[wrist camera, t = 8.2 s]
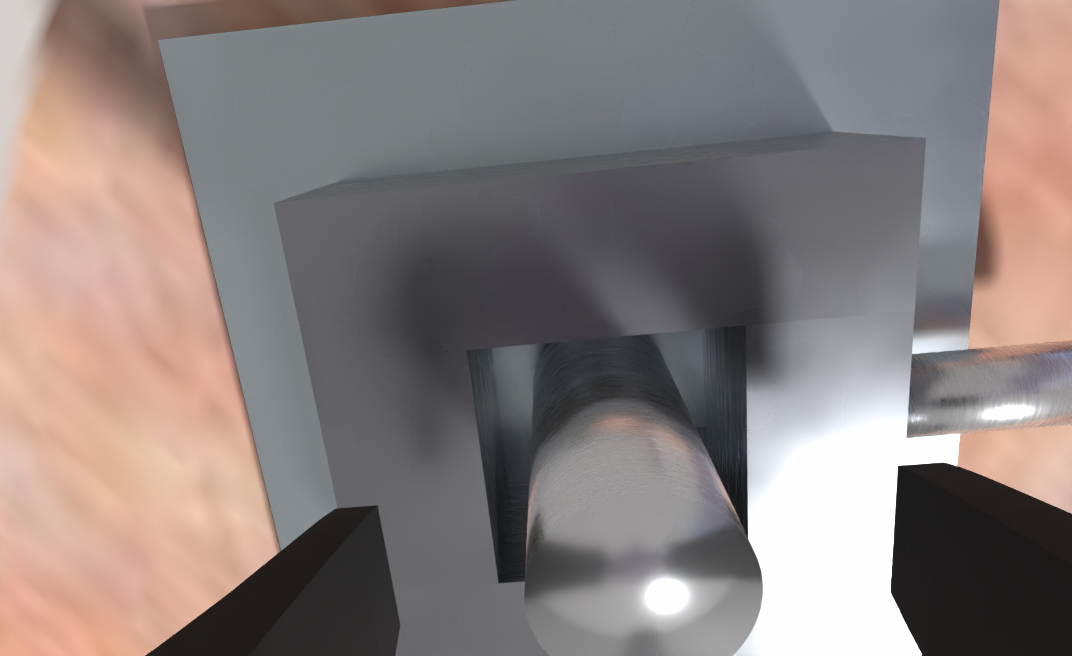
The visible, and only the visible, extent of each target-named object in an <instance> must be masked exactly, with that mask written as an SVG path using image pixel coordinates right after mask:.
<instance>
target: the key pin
mask: <svg viewBox="0 0 1072 656" xmlns="http://www.w3.org/2000/svg"><path fill="white" fill-rule="evenodd" d="M762 598H763V580H762V573H761V568H760V565H759V562H758V558H757V556H756V554H755V552H754V550H753V548H752V546H751V544H750V541H749V539H748V537H747V535H746V533H745V531H744V529H743V526H742V524H741V522H740V520H739V518H738V516H737V514H736V512H735V509H734V507H733V505H732V503H731V501H730V499H729V497H728V495H727V492H726V490H725V488H724V486H723V484H722V482H721V480H720V478H719V475H718V473H717V471H716V469H715V467H714V465H713V463H712V461H711V458H710V456H709V454H708V452H707V450H706V448H705V446H704V444H703V441H702V439H701V437H700V435H699V433H698V431H697V429H696V426H695V424H694V422H693V420H692V418H691V416H690V414H689V412H688V409H687V407H686V405H685V403H684V401H683V399H682V397H681V395H680V392H679V390H678V388H677V386H676V384H675V382H674V380H673V378H672V375H671V373H670V371H669V369H668V367H667V365H666V363H665V361H664V358H663V356H662V354H661V353H660V351H659V350H658V348H657V347H656V345H655V344H654V343H653V342H652V341H651V340H650V339H649V338H648V337H647V336H645V335H633V336H622V337H610V338H599V339H588V340H577V341H565V342H554V343H550V344H549V346H548V347H547V348H546V349H545V351H544V352H543V354H542V356H541V358H540V359H539V361H538V364H537V367H536V370H535V375H534V387H533V410H532V432H531V455H530V477H529V499H528V522H527V544H526V566H525V589H524V601H525V610H526V614H527V618H528V622H529V625H530V627H531V629H532V632H533V634H534V636H535V637H536V639H537V641H538V642H539V644H540V645H541V647H542V648H543V649H544V650H545V651H546V653H547V654H548V655H549V656H733V655H734V654H735V653H736V652H737V651H738V649H739V648H740V647H741V646H742V645H743V643H744V642H745V641H746V639H747V638H748V636H749V635H750V633H751V631H752V629H753V627H754V625H755V624H756V621H757V618H758V615H759V612H760V609H761V603H762Z"/></svg>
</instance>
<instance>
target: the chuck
mask: <svg viewBox="0 0 1072 656" xmlns="http://www.w3.org/2000/svg"><path fill="white" fill-rule="evenodd" d="M998 9H999V0H512V1H503V2H494V3H485V4H476V5H467V6H458V7H449V8H440V9H431V10H422V11H413V12H404V13H395V14H386V15H377V16H368V17H359V18H350V19H341V20H332V21H323V22H314V23H305V24H296V25H287V26H278V27H269V28H260V29H251V30H242V31H233V32H224V33H215V34H206V35H197V36H188V37H179V38H170V39H161V40H158V44H159V48H160V52H161V56H162V60H163V64H164V68H165V73H166V77H167V81H168V85H169V89H170V93H171V97H172V101H173V106H174V110H175V114H176V118H177V122H178V126H179V130H180V135H181V139H182V143H183V147H184V151H185V155H186V159H187V163H188V168H189V172H190V176H191V180H192V184H193V188H194V192H195V196H196V201H197V205H198V209H199V213H200V217H201V221H202V225H203V230H204V234H205V238H206V242H207V246H208V250H209V254H210V258H211V263H212V267H213V271H214V275H215V279H216V283H217V287H218V292H219V296H220V300H221V304H222V308H223V312H224V316H225V320H226V325H227V329H228V333H229V337H230V341H231V345H232V349H233V353H234V358H235V362H236V366H237V370H238V374H239V378H240V382H241V387H242V391H243V395H244V399H245V403H246V407H247V411H248V415H249V420H250V424H251V428H252V432H253V436H254V440H255V444H256V449H257V453H258V457H259V461H260V465H261V469H262V473H263V477H264V482H265V486H266V490H267V494H268V498H269V502H270V506H271V510H272V515H273V519H274V523H275V527H276V531H277V535H278V539H279V544H280V548H281V551H282V550H283V549H284V548H285V547H287V546H288V545H289V544H290V543H291V542H293V541H294V540H295V539H296V538H297V537H299V536H300V535H301V534H302V533H304V532H305V531H306V530H307V529H309V528H310V527H311V526H312V525H314V524H315V523H316V522H317V521H319V520H320V519H321V518H323V517H324V516H325V515H327V514H328V513H330V512H331V511H333V510H334V509H336V508H348V507H361V506H374V505H378V510H379V515H380V520H381V526H382V531H383V536H384V541H385V547H386V552H387V557H388V562H389V568H390V573H391V578H392V583H393V589H394V594H395V599H396V604H397V610H398V615H399V620H400V631H399V637H398V643H397V649H396V655H395V656H549V655H548V654H547V653H546V651H545V650H544V649H543V648H542V647H541V645H540V644H539V642H538V641H537V639H536V637H535V636H534V634H533V632H532V629H531V627H530V625H529V622H528V618H527V614H526V610H525V601H524V589H525V566H526V544H527V522H528V499H529V477H530V455H531V432H532V410H533V387H534V375H535V370H536V367H537V364H538V361H539V359H540V358H541V356H542V354H543V352H544V351H545V349H546V348H547V347H548V346H549V344H550V343H554V342H565V341H577V340H588V339H599V338H610V337H622V336H633V335H645V336H647V337H648V338H649V339H650V340H651V341H652V342H653V343H654V344H655V345H656V347H657V348H658V350H659V351H660V353H661V354H662V356H663V358H664V361H665V363H666V365H667V367H668V369H669V371H670V373H671V375H672V378H673V380H674V382H675V384H676V386H677V388H678V390H679V392H680V395H681V397H682V399H683V401H684V403H685V405H686V407H687V409H688V412H689V414H690V416H691V418H692V420H693V422H694V424H695V426H696V429H697V431H698V433H699V435H700V437H701V439H702V441H703V444H704V446H705V448H706V450H707V452H708V454H709V456H710V458H711V461H712V463H713V465H714V467H715V469H716V471H717V473H718V475H719V478H720V480H721V482H722V484H723V486H724V488H725V490H726V492H727V495H728V497H729V499H730V501H731V503H732V505H733V507H734V509H735V512H736V514H737V516H738V518H739V520H740V522H741V524H742V526H743V529H744V531H745V533H746V535H747V537H748V539H749V541H750V544H751V546H752V548H753V550H754V552H755V554H756V556H757V558H758V562H759V565H760V568H761V573H762V580H763V598H762V603H761V609H760V612H759V615H758V618H757V621H756V624H755V625H754V627H753V629H752V631H751V633H750V635H749V636H748V638H747V639H746V641H745V642H744V643H743V645H742V646H741V647H740V648H739V649H738V651H737V652H736V653H735V654H734V655H733V656H912V655H921V653H920V651H919V649H918V647H917V645H916V643H915V642H914V640H913V638H912V636H911V634H910V632H909V630H908V628H907V626H906V624H905V622H904V620H903V618H902V616H901V614H900V612H899V610H898V608H897V606H896V604H895V602H894V600H893V597H892V595H891V593H890V582H891V566H892V550H893V535H894V519H895V503H896V487H897V472H898V466H899V465H912V464H925V463H939V462H945V463H949V464H952V465H955V466H957V461H958V450H959V439H960V434H965V433H978V432H990V431H1002V430H1015V429H1027V428H1039V427H1052V426H1064V425H1072V340H1070V341H1058V342H1047V343H1035V344H1024V345H1012V346H1000V347H989V348H977V349H968V339H969V328H970V317H971V306H972V295H973V284H974V273H975V262H976V251H977V240H978V229H979V218H980V207H981V196H982V185H983V174H984V163H985V152H986V141H987V130H988V119H989V108H990V97H991V86H992V75H993V64H994V53H995V42H996V31H997V20H998Z"/></svg>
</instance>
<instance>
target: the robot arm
mask: <svg viewBox="0 0 1072 656" xmlns="http://www.w3.org/2000/svg"><path fill="white" fill-rule="evenodd" d="M890 593H891V595H892V597H893V600H894V602H895V604H896V606H897V608H898V610H899V612H900V614H901V616H902V618H903V620H904V622H905V624H906V626H907V628H908V630H909V632H910V634H911V636H912V638H913V640H914V642H915V643H916V645H917V647H918V649H919V651H920V653H921V655H922V656H1072V514H1071V513H1068V512H1066V511H1064V510H1061V509H1059V508H1057V507H1055V506H1052V505H1050V504H1048V503H1045V502H1043V501H1041V500H1038V499H1036V498H1034V497H1031V496H1029V495H1027V494H1025V493H1022V492H1020V491H1018V490H1015V489H1013V488H1011V487H1008V486H1006V485H1004V484H1001V483H999V482H996V481H994V480H991V479H989V478H987V477H984V476H982V475H979V474H977V473H974V472H972V471H969V470H966V469H963V468H961V467H958V466H955V465H952V464H949V463H945V462H939V463H925V464H912V465H899V466H898V472H897V487H896V503H895V519H894V535H893V550H892V566H891V582H890ZM399 631H400V620H399V615H398V610H397V604H396V599H395V594H394V589H393V583H392V578H391V573H390V568H389V562H388V557H387V552H386V547H385V541H384V536H383V531H382V526H381V520H380V515H379V510H378V505H374V506H361V507H348V508H336V509H334V510H333V511H331V512H330V513H328V514H327V515H325V516H324V517H323V518H321V519H320V520H319V521H317V522H316V523H315V524H314V525H312V526H311V527H310V528H309V529H307V530H306V531H305V532H304V533H302V534H301V535H300V536H299V537H297V538H296V539H295V540H294V541H293V542H291V543H290V544H289V545H288V546H287V547H285V548H284V549H283V550H282V551H280V552H279V553H278V554H277V555H276V556H274V557H273V558H272V559H271V560H269V561H268V562H267V563H266V564H265V565H263V566H262V567H261V568H260V569H258V570H257V571H256V572H255V573H253V574H252V575H251V576H250V577H249V578H247V579H246V580H245V581H244V582H242V583H241V584H240V585H239V586H237V587H236V588H235V589H234V590H233V591H231V592H230V593H229V594H227V595H226V596H225V597H224V598H222V599H221V600H220V601H218V602H217V603H216V604H214V605H213V606H212V607H210V608H209V609H208V610H206V611H205V612H204V613H202V614H201V615H200V616H198V617H197V618H196V619H194V620H193V621H192V622H190V623H189V624H188V625H186V626H185V627H184V628H182V629H181V630H180V631H178V632H177V633H176V634H174V635H173V636H172V637H170V638H169V639H168V640H166V641H165V642H164V643H162V644H161V645H160V646H158V647H157V648H156V649H154V650H153V651H151V652H150V653H148V654H147V655H146V656H395V655H396V649H397V643H398V637H399Z"/></svg>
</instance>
